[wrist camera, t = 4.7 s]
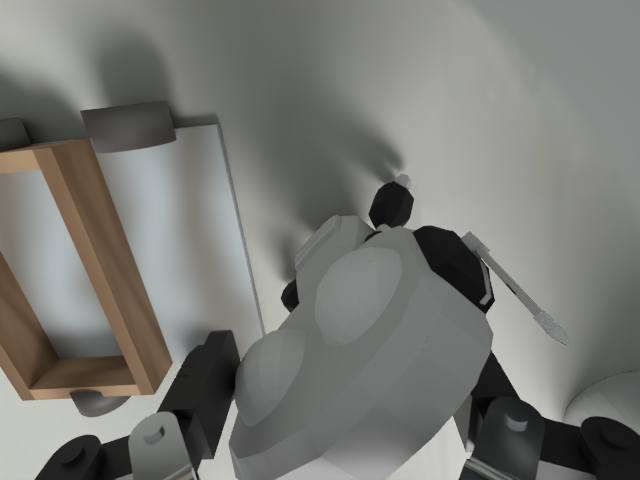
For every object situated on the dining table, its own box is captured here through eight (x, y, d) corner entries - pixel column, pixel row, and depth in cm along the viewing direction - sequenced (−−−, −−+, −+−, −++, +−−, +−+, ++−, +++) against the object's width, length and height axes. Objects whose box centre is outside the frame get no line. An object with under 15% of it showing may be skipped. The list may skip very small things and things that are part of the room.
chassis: (213, 95, 19) (184, 98, 16) (272, 366, 27) (262, 409, 24) (-80, 129, 21) (-168, 139, 17) (60, 377, 29) (21, 420, 25)
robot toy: (376, 134, 20) (465, 242, 6) (431, 185, 21) (611, 375, 7) (252, 274, 24) (138, 525, 10) (303, 310, 25) (261, 583, 11)
